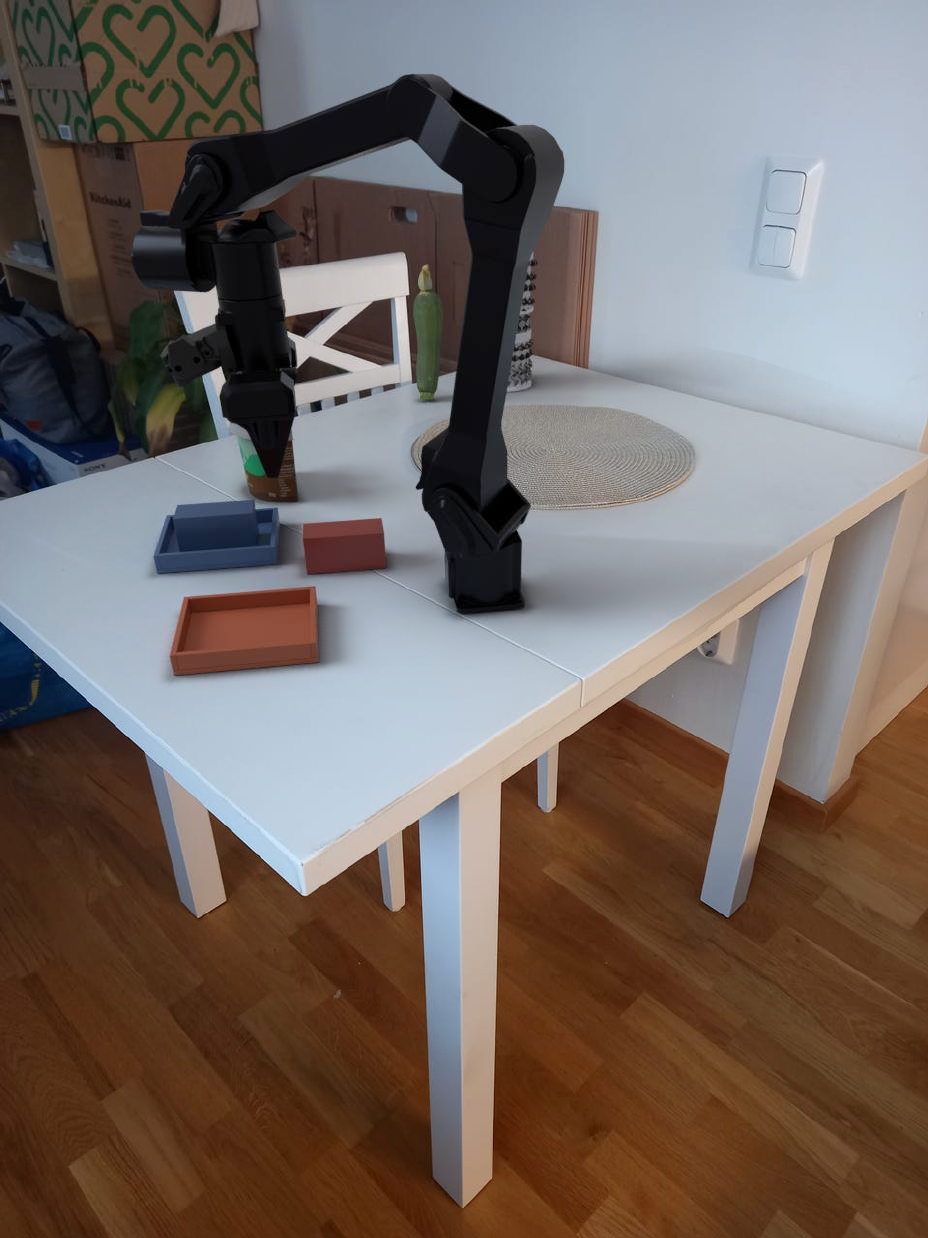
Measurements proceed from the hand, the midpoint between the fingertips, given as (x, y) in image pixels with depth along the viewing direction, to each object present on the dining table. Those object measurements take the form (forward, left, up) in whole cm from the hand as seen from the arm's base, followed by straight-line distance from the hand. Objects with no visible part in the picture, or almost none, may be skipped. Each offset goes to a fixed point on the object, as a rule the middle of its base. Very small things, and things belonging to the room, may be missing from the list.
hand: (274, 460), depth 88 cm
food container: (+3, -18, -11) cm, 21 cm away
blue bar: (+7, -3, -10) cm, 13 cm away
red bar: (-6, +3, -11) cm, 12 cm away
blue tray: (+7, -3, -11) cm, 13 cm away
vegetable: (-21, -50, -11) cm, 56 cm away
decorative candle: (-34, -56, -11) cm, 67 cm away
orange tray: (+3, +16, -11) cm, 19 cm away
